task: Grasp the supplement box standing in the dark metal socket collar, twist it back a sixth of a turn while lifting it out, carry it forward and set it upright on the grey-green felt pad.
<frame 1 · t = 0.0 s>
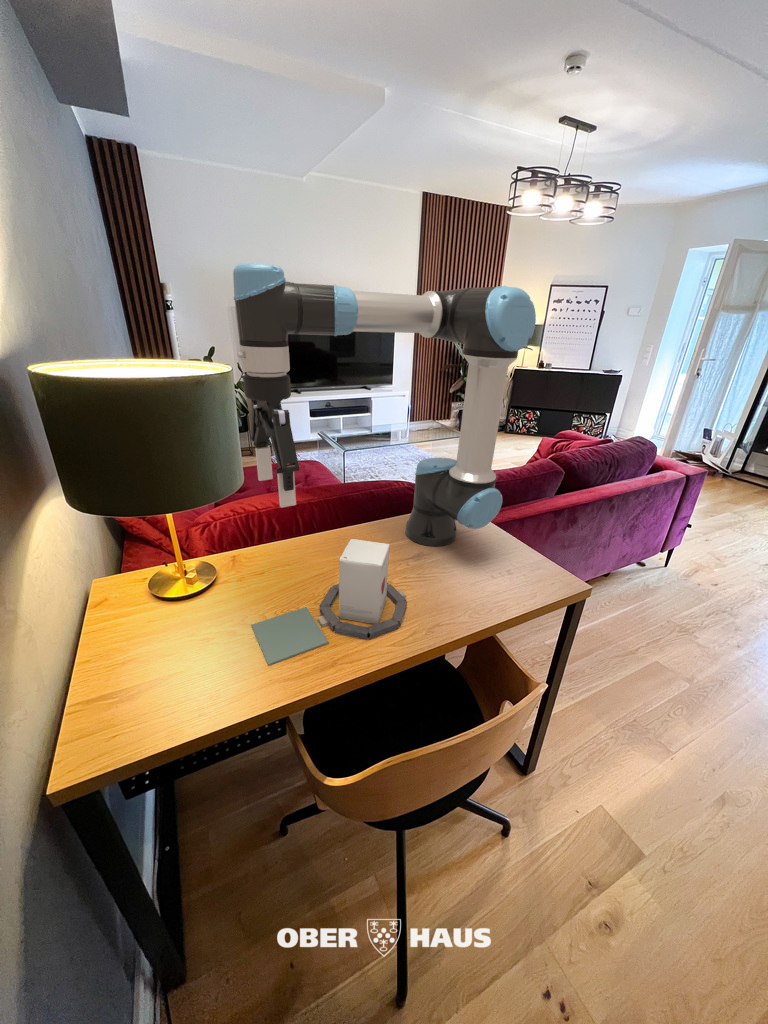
hand: (276, 491, 77), 28 cm above the table, fingers open, 13 cm apart
felt pad: (289, 634, 82), on the table
supplement box: (363, 609, 91), resting in socket collar
socket collar: (363, 608, 91), on the table
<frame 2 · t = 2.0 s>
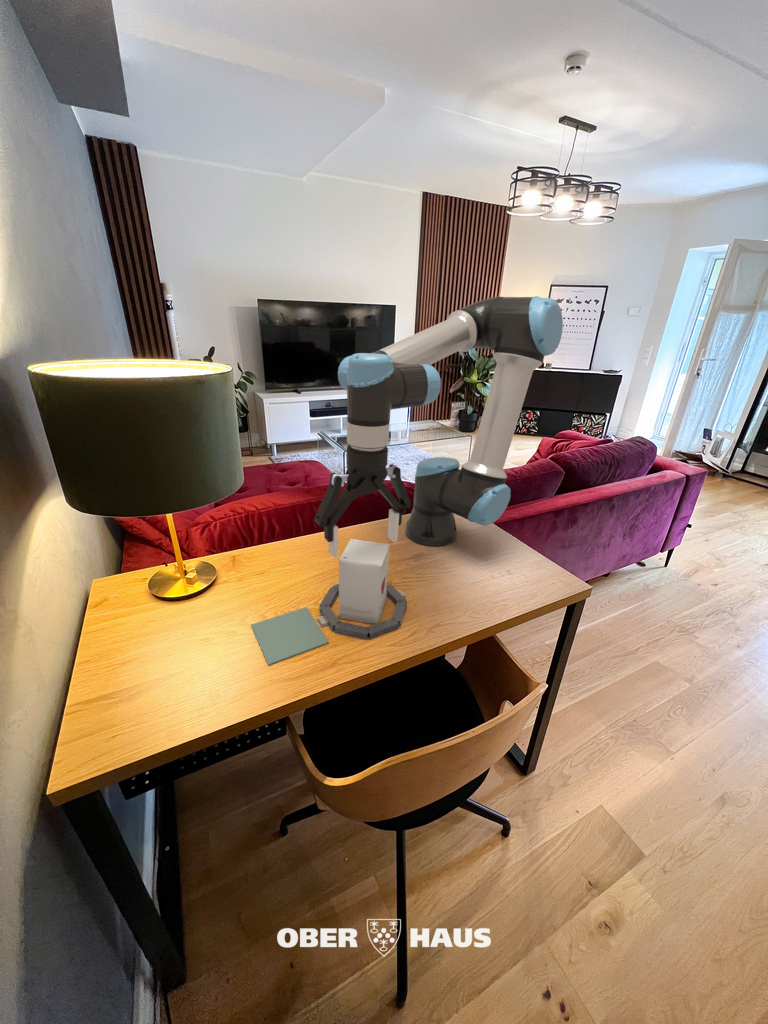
hand: (363, 546, 83), 16 cm above the table, fingers open, 13 cm apart
nothing on the table moved.
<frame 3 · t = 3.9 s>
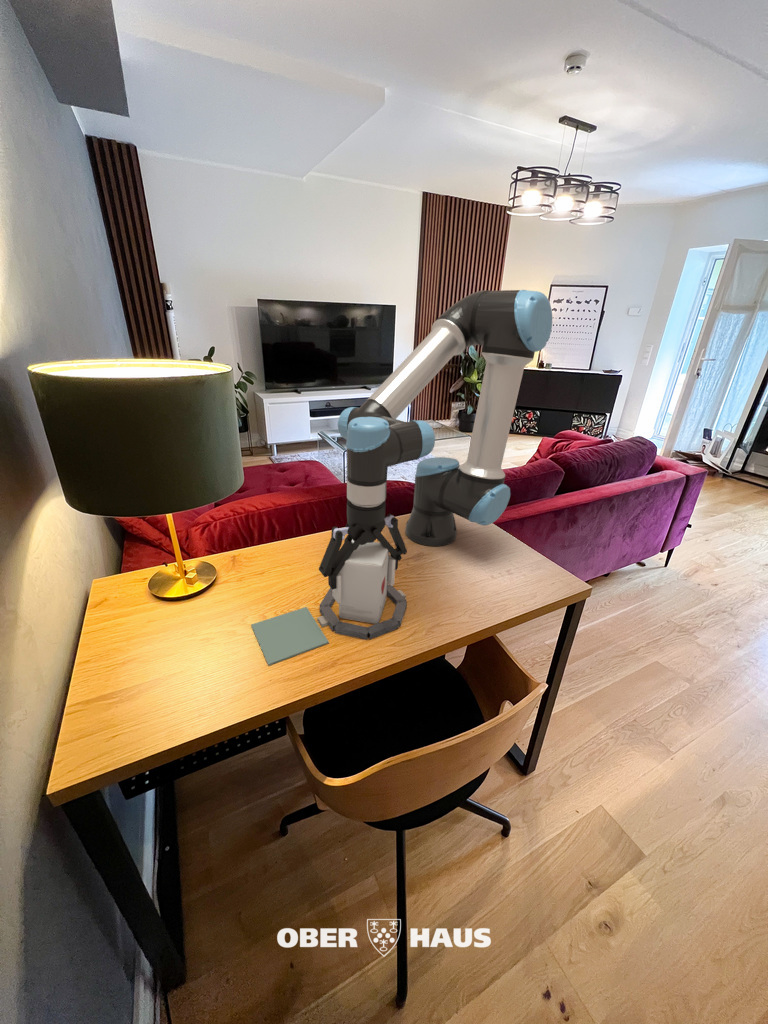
hand: (364, 590, 88), 5 cm above the table, fingers closed on supplement box, 12 cm apart
supplement box: (363, 609, 91), resting in socket collar, touching gripper
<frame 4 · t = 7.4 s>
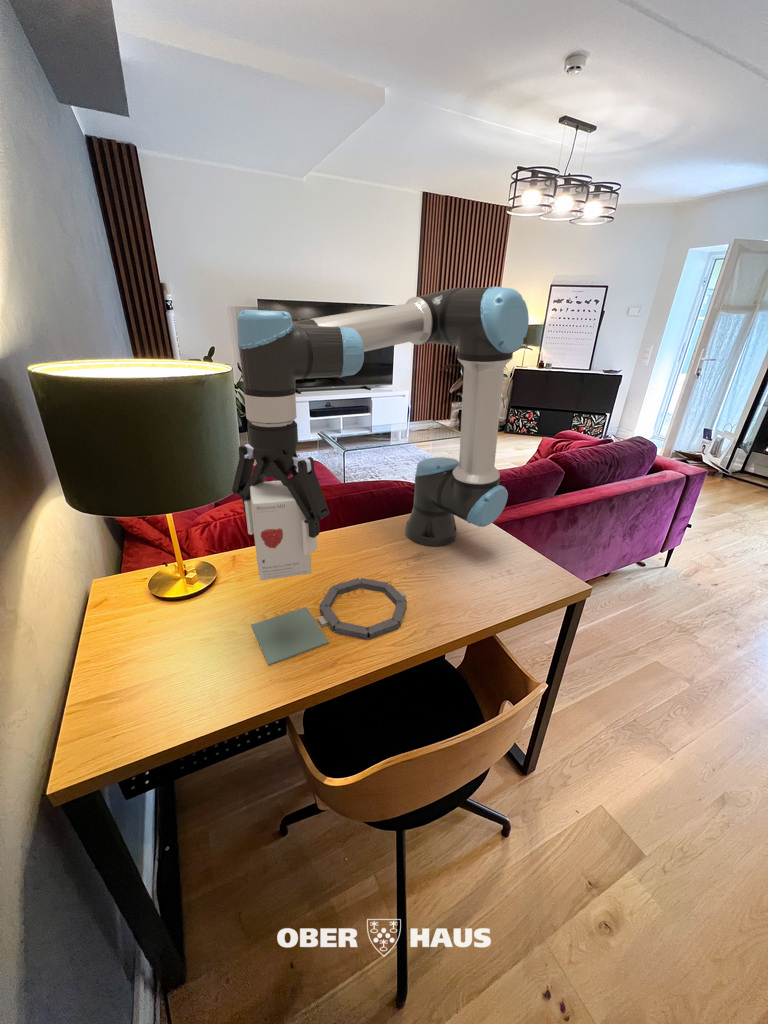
hand: (281, 541, 73), 22 cm above the table, fingers closed on supplement box, 12 cm apart
supplement box: (283, 565, 75), point 17 cm above the table, touching gripper
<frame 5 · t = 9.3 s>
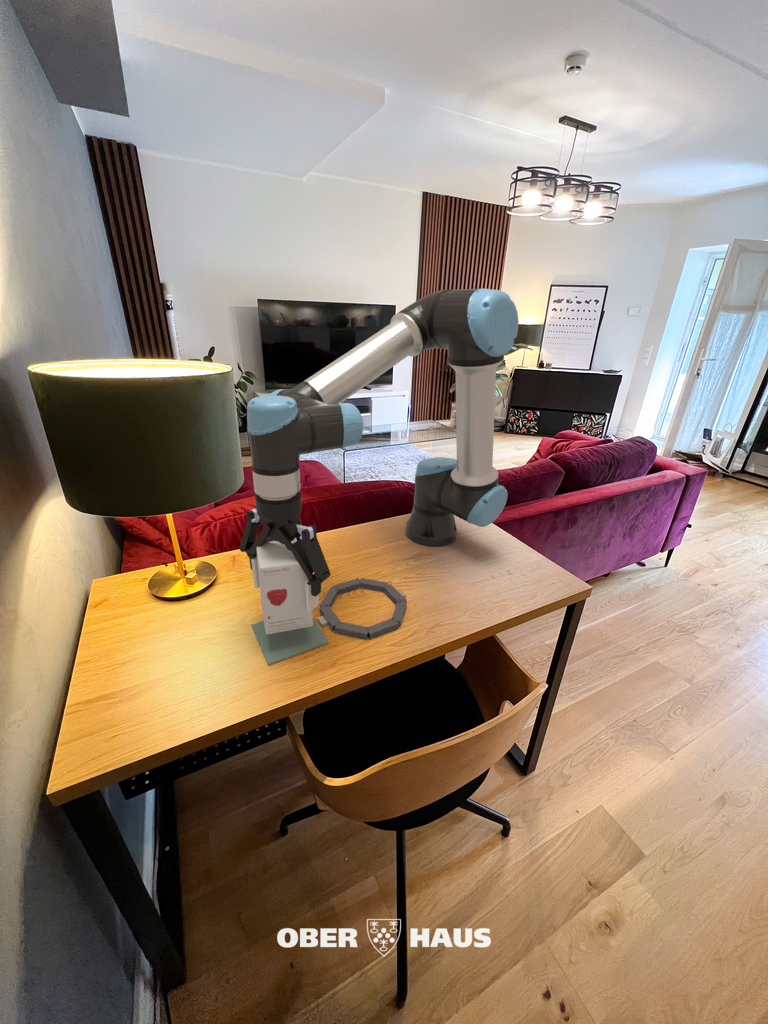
hand: (285, 595, 78), 10 cm above the table, fingers closed on supplement box, 12 cm apart
supplement box: (287, 617, 80), point 5 cm above the table, touching gripper
when the fingers open (7 cm above the table, at t = 11.1 s): supplement box drops 1 cm, resting on felt pad.
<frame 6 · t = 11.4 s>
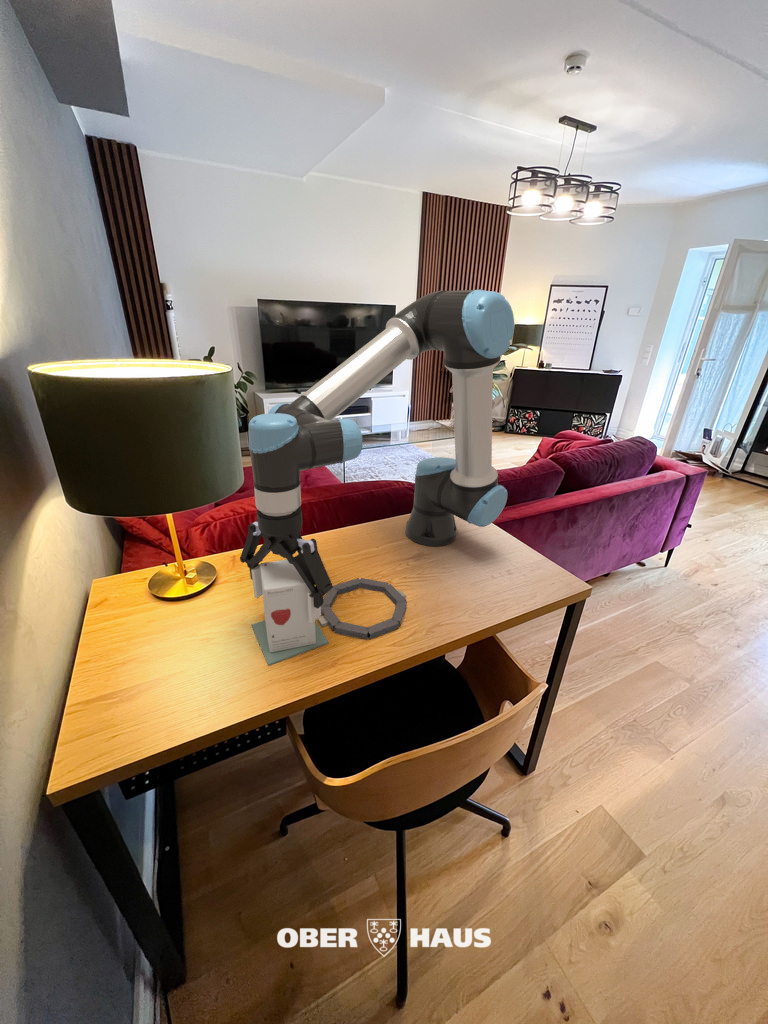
hand: (287, 606, 79), 7 cm above the table, fingers open, 13 cm apart
supplement box: (290, 634, 82), resting on felt pad
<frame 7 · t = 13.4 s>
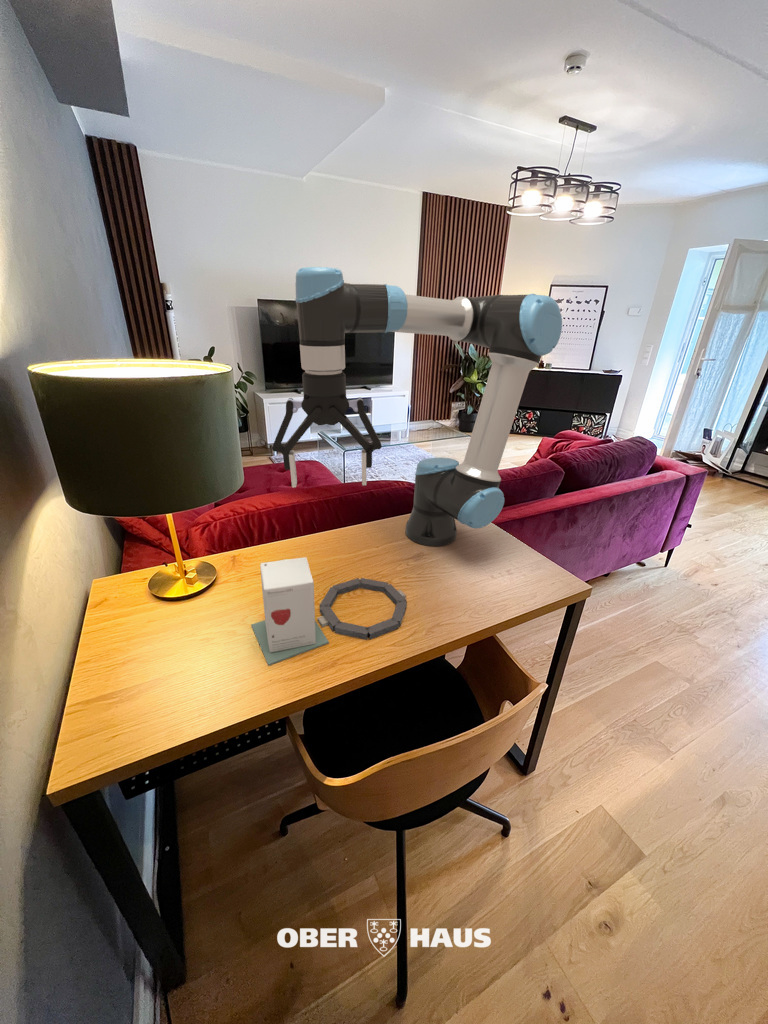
hand: (329, 483, 81), 28 cm above the table, fingers open, 13 cm apart
nothing on the table moved.
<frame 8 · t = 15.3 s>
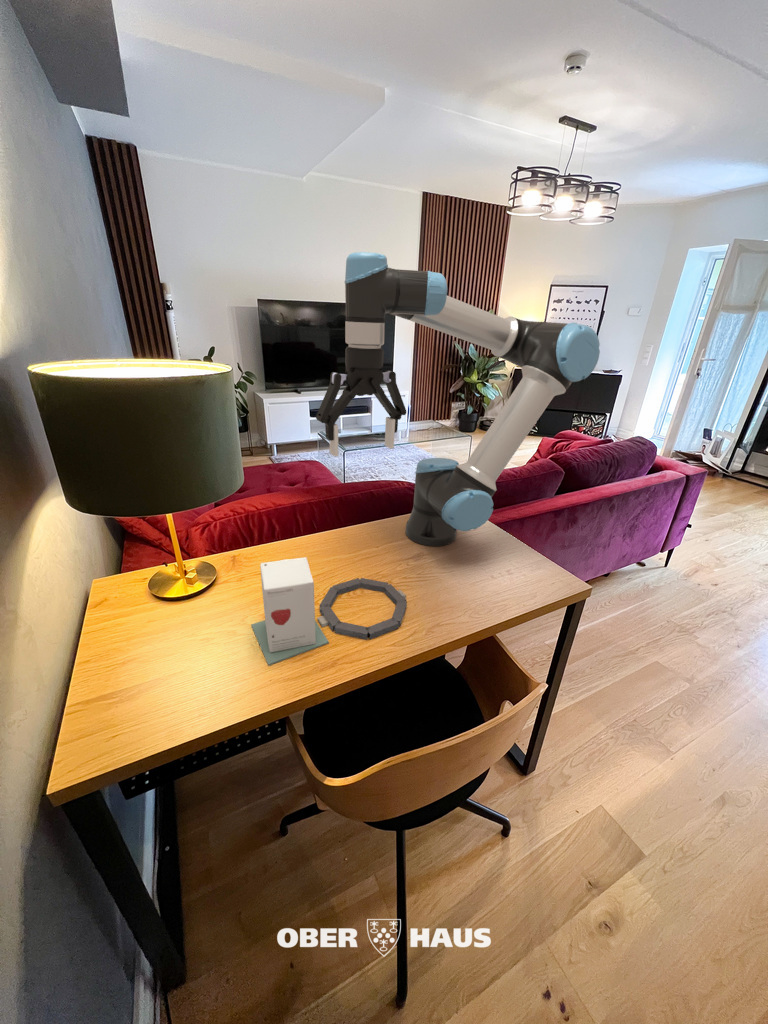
hand: (362, 450, 89), 32 cm above the table, fingers open, 13 cm apart
nothing on the table moved.
at the end: supplement box inside the target area on the felt pad (0.4 cm from its centre), point 0.2 cm above the felt pad's base; supplement box tilted 0°; the gripper is holding nothing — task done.
